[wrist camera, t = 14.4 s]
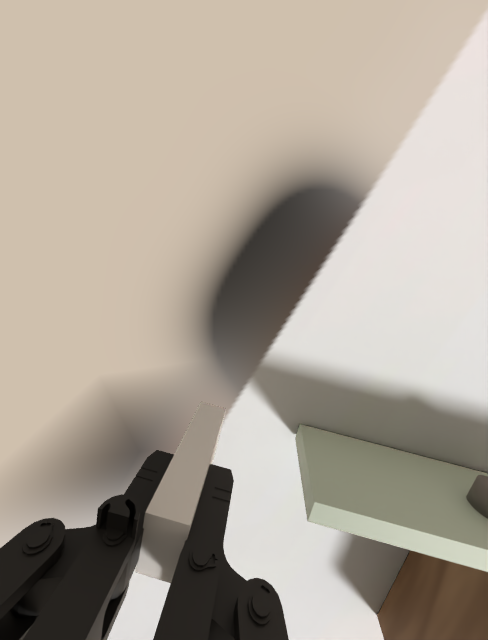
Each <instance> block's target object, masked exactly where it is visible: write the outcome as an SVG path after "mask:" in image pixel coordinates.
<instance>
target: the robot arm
mask: <svg viewBox="0 0 488 640" xmlns="http://www.w3.org/2000/svg"><path fill="white" fill-rule="evenodd" d="M225 411H226V408H223V407H219V406H215V405H211V404H208V403H204V402H201V403H200V405H199V406H198V409H197V411H196V412H195V414H194V416H193V418H192V421H191V422H190V425H189V426H188V429H187V430H186V433H185V434H184V437H183V438H182V440H181V442H180V444H179V447H178V449H177V450H176V452H175V454H174V455H173V454H170V453H166V452H163V451H159V450H156V451H155V452H154V453H153V454H151V455H150V456H149V457H147V459H146V461H145V462H144V464H143V465H142V467H141V469H140V470H139V472H138V473H137V475H136V477H135V478H134V479H133V481H132V483H131V484H130V486H129V487H128V489H127V490H126V492H125V494H124V495H118V496H114V497H111V498H110V499H108V500H106V501H105V502H104V503H103V504H102V505H101V506H100V507H99V508H98V514H97V523H96V525H94V526H91V527H86V528H76V529H65V526H64V524H63V523H62V521H60V520H58V519H54V518H48V519H43V520H40V521H37V522H34V523H33V524H31V525H29V526H28V527H26V528H25V529H23V530H22V531H21V532H20V533H18V534H17V535H16V536H15V537H14V538H12V539H11V540H10V541H9V542H8V543H6V544H5V545H4V546H3V547H2V548H0V640H107V638H108V636H109V633H110V631H111V629H112V626H113V624H114V622H115V619H116V617H117V615H118V612H119V610H120V608H121V606H122V603H123V601H124V599H125V596H126V593H127V590H128V586H129V580H130V578H131V576H132V574H133V571H134V569H135V567H136V573H139V574H143V575H146V576H149V577H153V578H156V579H159V580H162V581H166V582H169V583H171V585H170V588H169V591H168V594H167V597H166V601H165V604H164V607H163V610H162V613H161V617H160V620H159V623H158V626H157V629H156V632H155V636H154V639H153V640H289V639H288V634H287V629H286V624H285V619H284V614H283V609H282V605H281V602H280V599H279V596H278V594H277V592H276V591H275V589H274V588H273V587H272V585H270V584H269V583H268V582H267V581H265V580H263V579H259V578H254V579H250V580H248V581H246V580H245V579H244V578H243V577H241V576H240V575H239V574H238V573H236V572H235V571H234V570H233V569H232V568H231V567H230V565H229V564H228V562H227V560H226V557H225V555H224V549H223V540H224V534H225V528H226V523H227V517H228V511H229V505H230V499H231V493H232V487H233V482H234V480H233V476H232V472H231V470H230V469H227V468H223V467H219V466H216V465H212V462H213V459H214V456H215V452H216V449H217V445H218V441H219V436H220V432H221V428H222V424H223V419H224V415H225ZM136 565H137V566H136Z"/></svg>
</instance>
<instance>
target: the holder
mask: <svg viewBox="0 0 488 640" xmlns="http://www.w3.org/2000/svg"><path fill="white" fill-rule="evenodd" d="M377 617H378V620H379V624H380V627H381V630H382V633H383V637H384V640H488V572H486V571H482V570H479V569H475V568H472V567H468V566H465V565H461V564H457V563H454V562H450V561H447V560H443V559H440V558H436V557H433V556H429V555H425V554H422V553H418V552H415V551H411V550H410V552H409V554H408V556H407V558H406V560H405V562H404V564H403V566H402V568H401V570H400V572H399V574H398V576H397V578H396V580H395V582H394V584H393V586H392V588H391V589H390V591H389V593H388V595H387V597H386V599H385V601H384V603H383V605H382V607H381V609H380V611H379V613H378V615H377Z"/></svg>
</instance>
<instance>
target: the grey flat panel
mask: <svg viewBox="0 0 488 640" xmlns="http://www.w3.org/2000/svg"><path fill="white" fill-rule="evenodd" d="M295 440H296V446H297V453H298V460H299V467H300V473H301V480H302V487H303V493H304V500H305V507H306V514H307V520H308V522H312V523H315V524H319V525H322V526H326V527H330V528H333V529H337V530H340V531H344V532H347V533H351V534H354V535H358V536H362V537H365V538H369V539H372V540H376V541H379V542H383V543H386V544H390V545H394V546H397V547H401V548H404V549H408V550H411V551H415V552H418V553H422V554H425V555H429V556H433V557H436V558H440V559H443V560H447V561H450V562H454V563H457V564H461V565H465V566H468V567H472V568H475V569H479V570H482V571H486V572H488V473H484V472H480V471H477V470H473V469H469V468H465V467H461V466H458V465H454V464H450V463H446V462H442V461H439V460H435V459H431V458H427V457H423V456H420V455H416V454H412V453H408V452H404V451H401V450H397V449H393V448H389V447H385V446H382V445H378V444H374V443H370V442H366V441H363V440H359V439H355V438H351V437H347V436H344V435H340V434H336V433H332V432H328V431H325V430H321V429H317V428H313V427H309V426H306V425H302V424H300V425H299V428H298V431H297V434H296V438H295Z"/></svg>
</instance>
